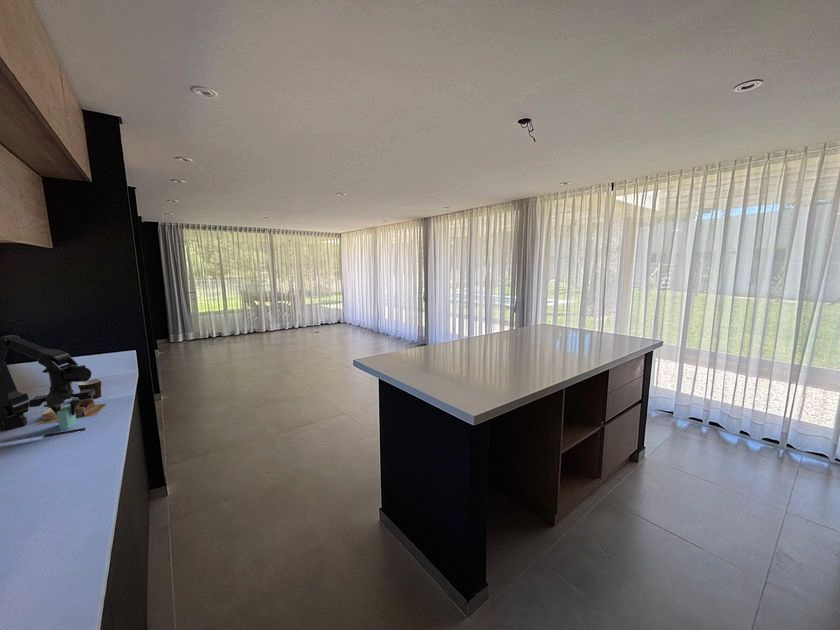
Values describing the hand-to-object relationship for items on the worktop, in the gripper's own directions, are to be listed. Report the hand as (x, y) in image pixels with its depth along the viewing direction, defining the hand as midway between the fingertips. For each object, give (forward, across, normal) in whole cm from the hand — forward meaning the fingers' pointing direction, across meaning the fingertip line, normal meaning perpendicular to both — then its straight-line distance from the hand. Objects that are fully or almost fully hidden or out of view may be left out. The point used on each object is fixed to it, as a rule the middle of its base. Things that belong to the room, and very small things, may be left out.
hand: (67, 416), depth 142 cm
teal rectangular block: (+5, 0, 0) cm, 5 cm away
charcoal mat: (+6, 0, 0) cm, 6 cm away
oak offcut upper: (+3, -9, +14) cm, 17 cm away
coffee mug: (+6, -2, +32) cm, 33 cm away
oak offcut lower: (+4, -9, +14) cm, 17 cm away
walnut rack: (+6, -3, +14) cm, 15 cm away
